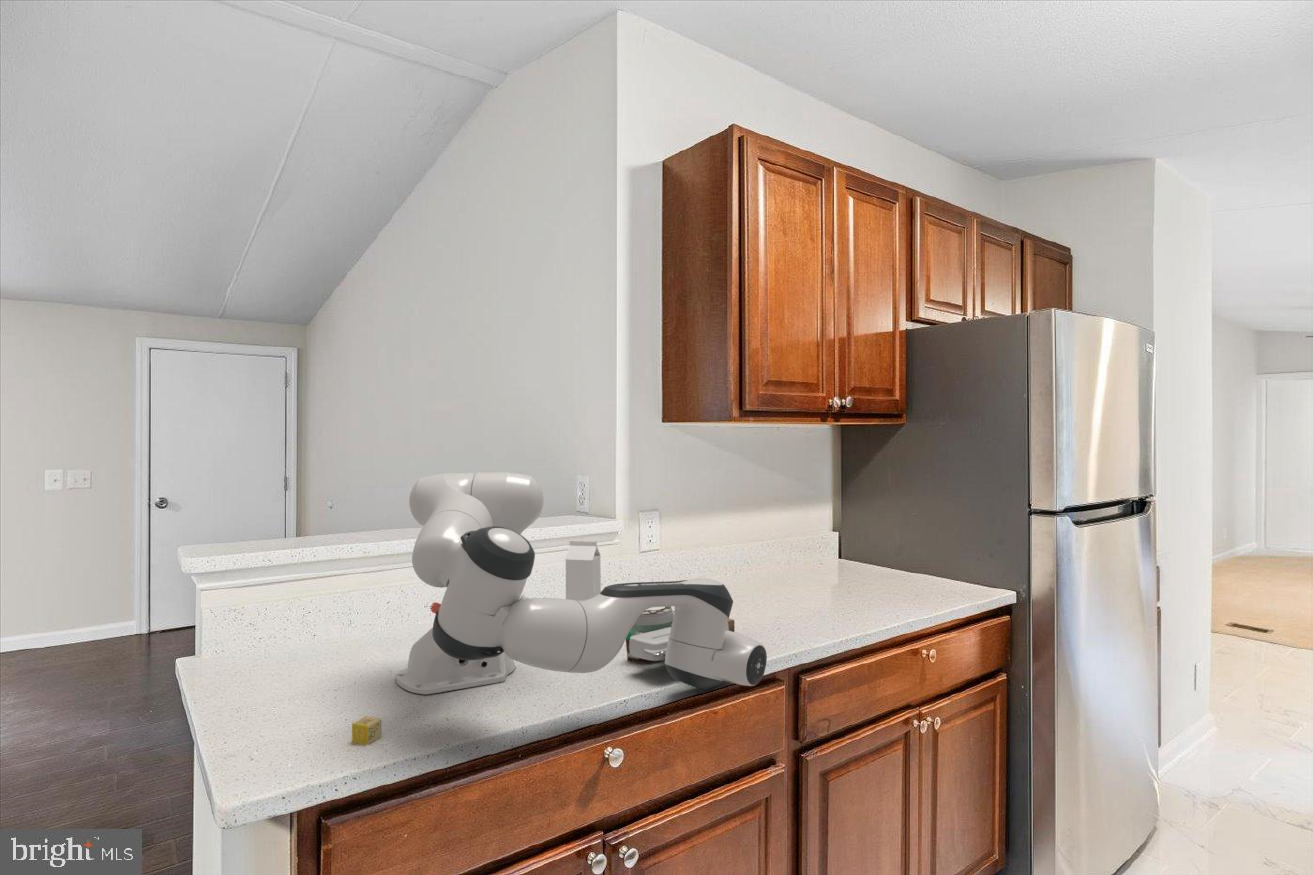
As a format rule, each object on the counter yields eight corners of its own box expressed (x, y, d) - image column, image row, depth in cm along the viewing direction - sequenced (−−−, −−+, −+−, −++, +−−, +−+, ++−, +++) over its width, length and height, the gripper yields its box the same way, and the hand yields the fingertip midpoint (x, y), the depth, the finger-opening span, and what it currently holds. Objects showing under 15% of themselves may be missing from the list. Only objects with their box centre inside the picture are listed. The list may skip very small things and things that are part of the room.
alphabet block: (382, 737, 115) (381, 717, 115) (368, 745, 112) (368, 725, 112) (365, 734, 116) (365, 715, 116) (351, 742, 113) (351, 722, 113)
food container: (640, 668, 147) (640, 618, 147) (621, 661, 152) (621, 612, 152) (686, 656, 155) (686, 608, 155) (667, 649, 160) (667, 603, 159)
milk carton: (593, 620, 185) (592, 543, 185) (565, 618, 186) (565, 543, 186) (600, 613, 192) (600, 539, 192) (574, 612, 193) (574, 539, 193)
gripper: (656, 673, 137) (611, 656, 147) (733, 652, 150) (687, 637, 160) (655, 639, 137) (611, 624, 147) (733, 620, 150) (687, 608, 160)
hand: (651, 631), depth 154 cm, fingers open, 6 cm apart
